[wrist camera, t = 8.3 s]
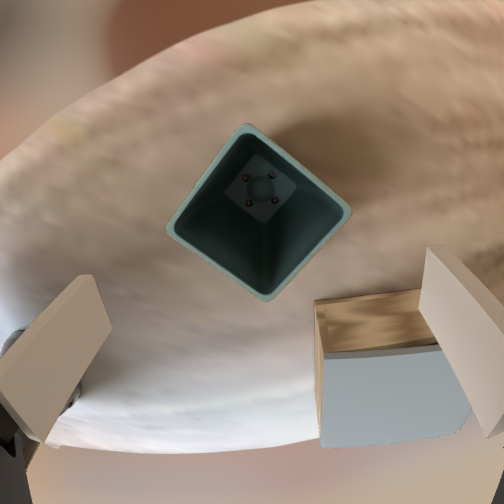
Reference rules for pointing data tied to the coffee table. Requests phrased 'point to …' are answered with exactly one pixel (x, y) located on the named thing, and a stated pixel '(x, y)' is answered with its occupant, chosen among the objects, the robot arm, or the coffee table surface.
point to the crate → (367, 328)
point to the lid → (390, 397)
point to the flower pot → (258, 214)
